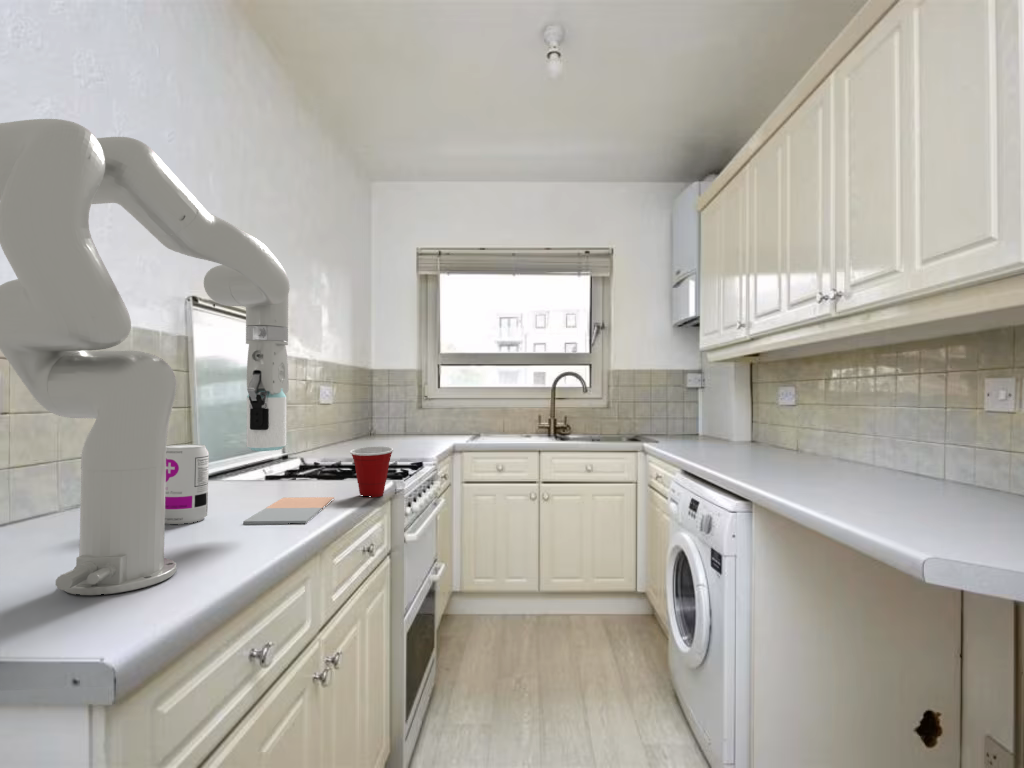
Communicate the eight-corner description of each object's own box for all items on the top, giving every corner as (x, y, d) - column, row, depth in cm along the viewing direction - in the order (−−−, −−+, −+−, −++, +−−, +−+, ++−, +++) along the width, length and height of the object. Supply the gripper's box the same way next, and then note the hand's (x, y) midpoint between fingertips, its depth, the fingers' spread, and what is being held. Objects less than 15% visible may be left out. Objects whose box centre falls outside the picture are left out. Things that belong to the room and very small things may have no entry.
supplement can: (169, 527, 102) (171, 449, 102) (153, 521, 107) (154, 446, 107) (214, 519, 108) (216, 446, 109) (196, 513, 113) (198, 443, 114)
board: (306, 523, 106) (306, 520, 106) (243, 524, 105) (243, 521, 105) (334, 499, 130) (334, 497, 130) (283, 500, 129) (283, 497, 129)
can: (284, 450, 102) (285, 388, 102) (243, 452, 100) (244, 388, 100) (287, 446, 109) (287, 387, 109) (249, 447, 107) (249, 387, 107)
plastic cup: (339, 498, 132) (340, 449, 132) (364, 490, 142) (365, 445, 143) (378, 501, 129) (379, 451, 129) (400, 493, 139) (401, 447, 139)
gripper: (271, 333, 96) (270, 432, 96) (300, 340, 113) (300, 424, 113) (227, 332, 95) (227, 432, 95) (263, 340, 113) (263, 424, 113)
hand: (266, 427), depth 104 cm, fingers closed on can, 6 cm apart
